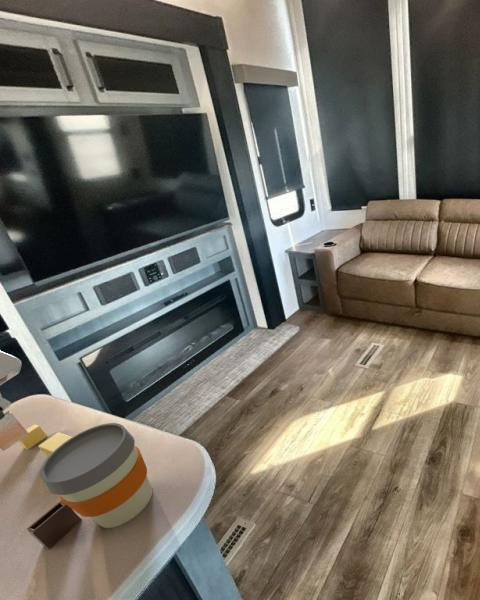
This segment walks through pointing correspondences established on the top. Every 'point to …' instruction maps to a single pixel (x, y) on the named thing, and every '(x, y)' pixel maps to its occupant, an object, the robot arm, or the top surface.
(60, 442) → the butter stick
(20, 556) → the top surface
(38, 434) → the butter slice
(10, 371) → the robot arm
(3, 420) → the knife
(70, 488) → the reusable coffee cup
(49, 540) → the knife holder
